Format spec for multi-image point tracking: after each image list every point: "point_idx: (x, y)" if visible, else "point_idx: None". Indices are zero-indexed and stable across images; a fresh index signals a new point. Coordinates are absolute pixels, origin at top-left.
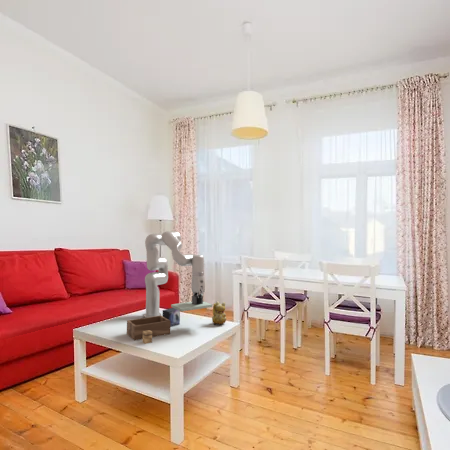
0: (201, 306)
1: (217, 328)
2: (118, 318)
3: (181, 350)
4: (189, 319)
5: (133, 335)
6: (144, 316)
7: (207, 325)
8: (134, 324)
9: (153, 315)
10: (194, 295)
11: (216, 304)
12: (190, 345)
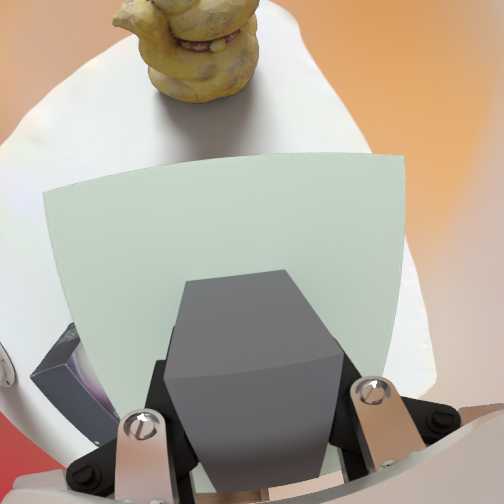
0: (389, 331)
1: (288, 121)
2: (26, 433)
3: (416, 373)
4: (33, 216)
5: None
6: (6, 386)
7: (192, 149)
8: (246, 501)
9: (2, 368)
10: (190, 470)
11: (182, 5)
12: (409, 345)
